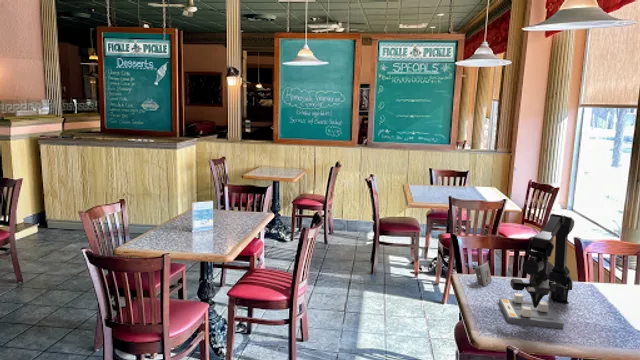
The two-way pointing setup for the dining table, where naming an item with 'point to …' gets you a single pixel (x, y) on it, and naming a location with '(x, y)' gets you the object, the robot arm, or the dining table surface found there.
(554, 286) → the robot arm
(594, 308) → the dining table surface
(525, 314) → the tab
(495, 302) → the dining table surface
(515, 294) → the beige cube
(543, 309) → the tab
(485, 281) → the electrical switch
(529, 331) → the dining table surface
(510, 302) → the switch panel
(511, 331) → the dining table surface
